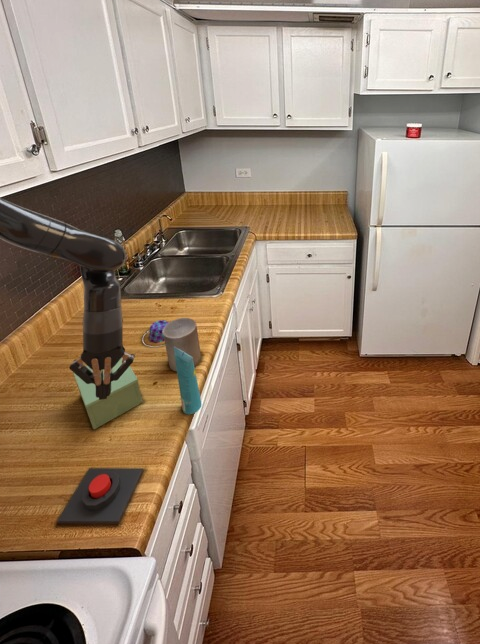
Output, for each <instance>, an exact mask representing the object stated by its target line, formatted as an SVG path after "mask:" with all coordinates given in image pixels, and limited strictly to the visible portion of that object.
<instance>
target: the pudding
mask: <svg viewBox="0 0 480 644" xmlns="http://www.w3.org/2000/svg"><path fill="white" fill-rule="evenodd" d="M168 323H169V321H167V320H165V319H160V320H157V321H154V322H153V323H152V324H151V325H150V326H149V330H148V339H149V342H151V343H156V344H158V343H161V342H165V341H164V336H163V333H162V331H163V329H164V327H165V326H166V325H167V324H168ZM145 335H146V334H144V335H143V336H142V343H143V344H144V345H145V346H147V347H149V348H150V347H152V348H156V347H159V345H157V346H153V345H152V346H151V345H147V344H146V343H145V342H144V337H145ZM162 346H164V344H163V345H160V347H162Z"/></svg>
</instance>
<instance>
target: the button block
mask: <svg viewBox="0 0 480 644" xmlns="http://www.w3.org/2000/svg"><path fill="white" fill-rule="evenodd" d="M143 473H144V469H143V468H130V467H129V468H127V467H126V468H125V467H123V468H121V467H120V468H116V467H115V468H113V467H110V468H104V467H103V468H95V467H94V468H93V467H91V468H88V470H87V471H86V473H85V474H84V476H83V478H82V480H81V481H80V483H79V484H78V485H77V487H76V489H75V491H74V492H73V494H72V496H71V497H70V499H69V500H68V502H67V504H66V505H65V506H64V508H63V510H62V512H61V514H60V515H59V517H58V518H57V520H56V522H57V525H120V523H121V521H122V519H123V518H124V515H125V513H126V510H127V508H128V506H129V504H130V502H131V499H133V498H132V497H133V495H134V493H135V491H136V490H137V487H138V485H139V482H140V480H141V478H142V476H143ZM102 474H106V475H108V476H109V478H110V481H111V487H110V489H109V490H108V492H107V493H106V494H105V495H103V496H102V497H100V498H93V497H92V496H91V494H90V491H89V485H90V483H91V482H92V481H93V479H95V478H96V477H97V476H99V475H102Z"/></svg>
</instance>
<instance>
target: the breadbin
mask: <svg viewBox="0 0 480 644" xmlns="http://www.w3.org/2000/svg"><path fill="white" fill-rule="evenodd" d="M73 377H74V380H75V381H76V379H75V376H74V375H73ZM77 388H78V391H79V395H80V397H81V399H82V402H83V405H84V408H85V411H86V413H87V416H88V419H89V421H90V424H91V428H92V429H93V431H94V430H96V429H98V428H99V427H101V426H103V425H105V424H106V423H108V422H111V421H112V420H114V419H116V418H118V417H119V416H121V415H123V414H125V413H127V412H128V411H130V410H131V409H133V408H135V407H137V406H139V405H141V404H143V403H144V402H143V397H142V392H141V389H140V385H139V381H138V382H136V383H134V384H132V385H130V386H128V387H126V388H124V389H122V390H120V391H118V392H116V393H114V394H112V395H111V396H109V397H107V399H103V400H101V401H99V402H97V403H95V404H93V405H91V406H89V407H87V408H86V406H85V403H84V401H83V398H82V395H81V393H80V390H79V387H78V386H77Z"/></svg>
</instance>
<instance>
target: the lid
mask: <svg viewBox="0 0 480 644" xmlns="http://www.w3.org/2000/svg"><path fill="white" fill-rule="evenodd" d="M122 360H123V358H121V359H120V360H119V361H118V363H117V364H116V365H115V366H114V367H113V371H112V373H114V372H116V370H117V369H118V368H119V367H120V366H121V365H122ZM85 366H86V367H87V368H88V369H89V370H90V371H91V372H92V373H93V370H92V369H90V368H89V367H88V366H87V365H85ZM72 373H73V377H74V376H75V377H74V380H75V379H76V380H75V382H76V385H77V388H78V387H79V388H78V391H79V390H80V391H79V394H80V393H81V394H80V396H81V395H82V397H81V399H82V398H83V400H82V402H83V401H84V403H85V405H84V407H85V406H86V408H87V407H89V406H91V405H93V404H95V403H97V402H99V401H101V400H99V398H97V397H96V386H95V384H93V383H90V384H86V383H85V382H84V381H83V380H82V379H81V378H79V377H78V376H77V375H76V374H75V373H74V372H73V371H72ZM103 375H104V370H103ZM103 380H104V378H103ZM136 382H138V383H139V379H138V377H137V375H136V374H135V372H134V370H133V368H132V367H131V365H130V366H129V367H128V369H127V370H126V371H125V372H124V373H123V374H122V376H121V377H120V378H119V379H118V380H117V381H112V382H111V393H110V395H109V396H111V395H112V394H114V393H116V392H118V391H120V390H122V389H124V388H126V387H128V386H130V385H132V384H134V383H136ZM109 396H107V397H109ZM102 400H103V399H102ZM84 403H83V404H84ZM86 408H85V409H86Z"/></svg>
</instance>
